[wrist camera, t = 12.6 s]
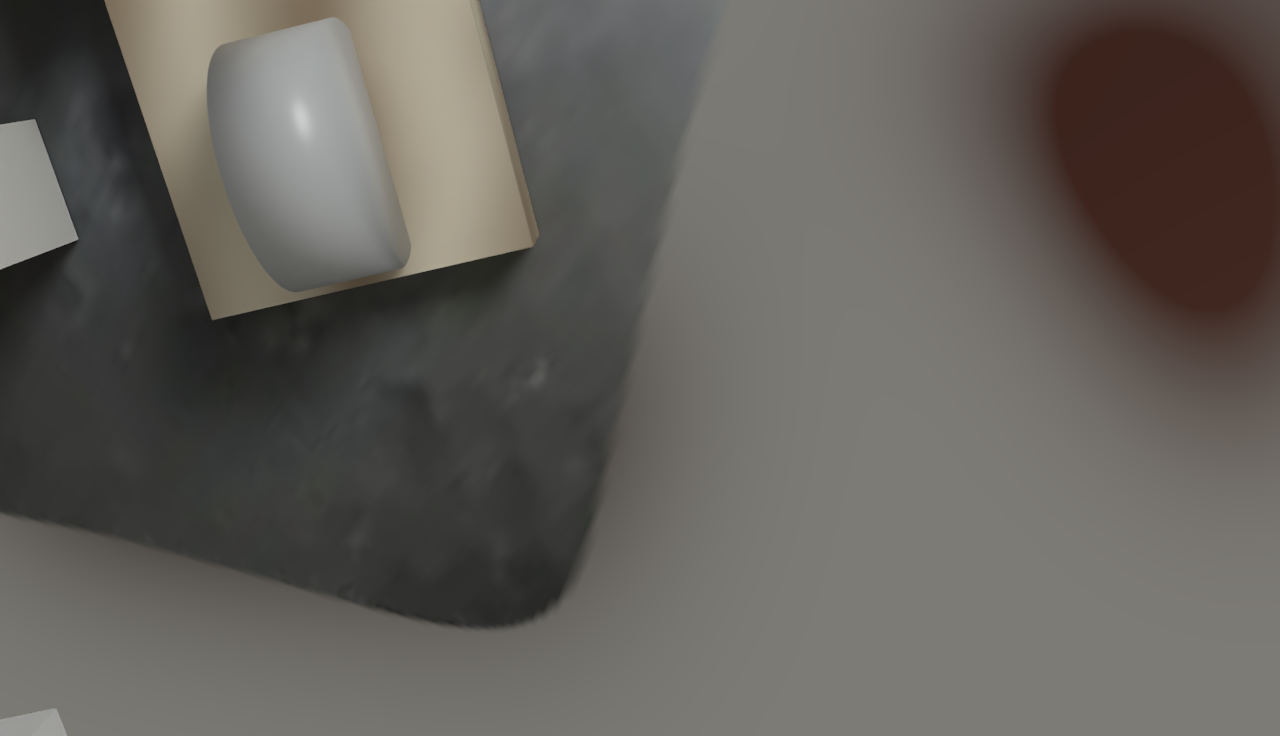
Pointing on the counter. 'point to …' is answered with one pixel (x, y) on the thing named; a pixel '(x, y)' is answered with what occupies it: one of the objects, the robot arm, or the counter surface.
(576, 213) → the counter surface
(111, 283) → the counter surface
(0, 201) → the tee
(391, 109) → the lane
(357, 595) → the counter surface
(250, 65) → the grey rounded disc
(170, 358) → the counter surface
